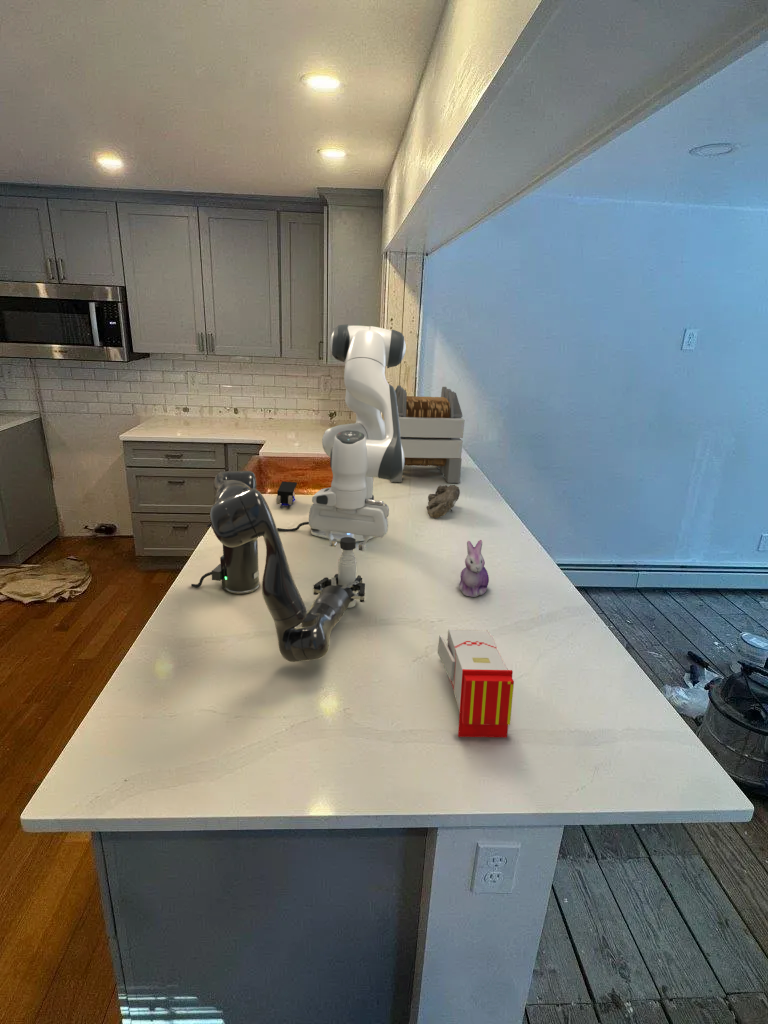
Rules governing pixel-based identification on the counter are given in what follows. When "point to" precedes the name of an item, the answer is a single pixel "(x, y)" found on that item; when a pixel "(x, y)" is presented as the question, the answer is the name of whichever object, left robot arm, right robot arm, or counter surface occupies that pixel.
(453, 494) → the fossil
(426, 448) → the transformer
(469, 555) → the figurine
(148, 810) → the counter surface
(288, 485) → the figurine character
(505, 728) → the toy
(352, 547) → the cap
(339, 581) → the bottle
